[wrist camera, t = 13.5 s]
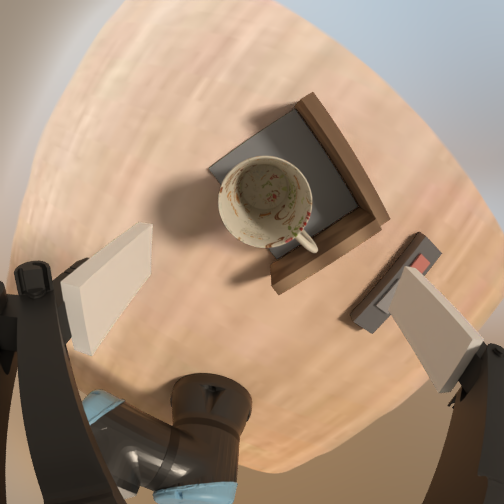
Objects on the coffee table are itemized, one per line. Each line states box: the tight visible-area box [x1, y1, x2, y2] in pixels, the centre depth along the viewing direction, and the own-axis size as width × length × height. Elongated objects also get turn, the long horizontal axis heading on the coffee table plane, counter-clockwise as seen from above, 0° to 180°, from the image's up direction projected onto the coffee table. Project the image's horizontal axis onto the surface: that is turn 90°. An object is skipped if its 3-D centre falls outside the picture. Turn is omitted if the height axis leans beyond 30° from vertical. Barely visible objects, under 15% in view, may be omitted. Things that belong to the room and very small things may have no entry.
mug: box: [218, 156, 318, 253], centre depth 30 cm, size 8×13×10 cm, turn 46°
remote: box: [350, 232, 442, 334], centre depth 38 cm, size 16×4×2 cm, turn 146°
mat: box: [209, 109, 358, 259], centre depth 34 cm, size 13×14×1 cm
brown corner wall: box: [270, 92, 390, 295], centre depth 32 cm, size 16×16×6 cm
